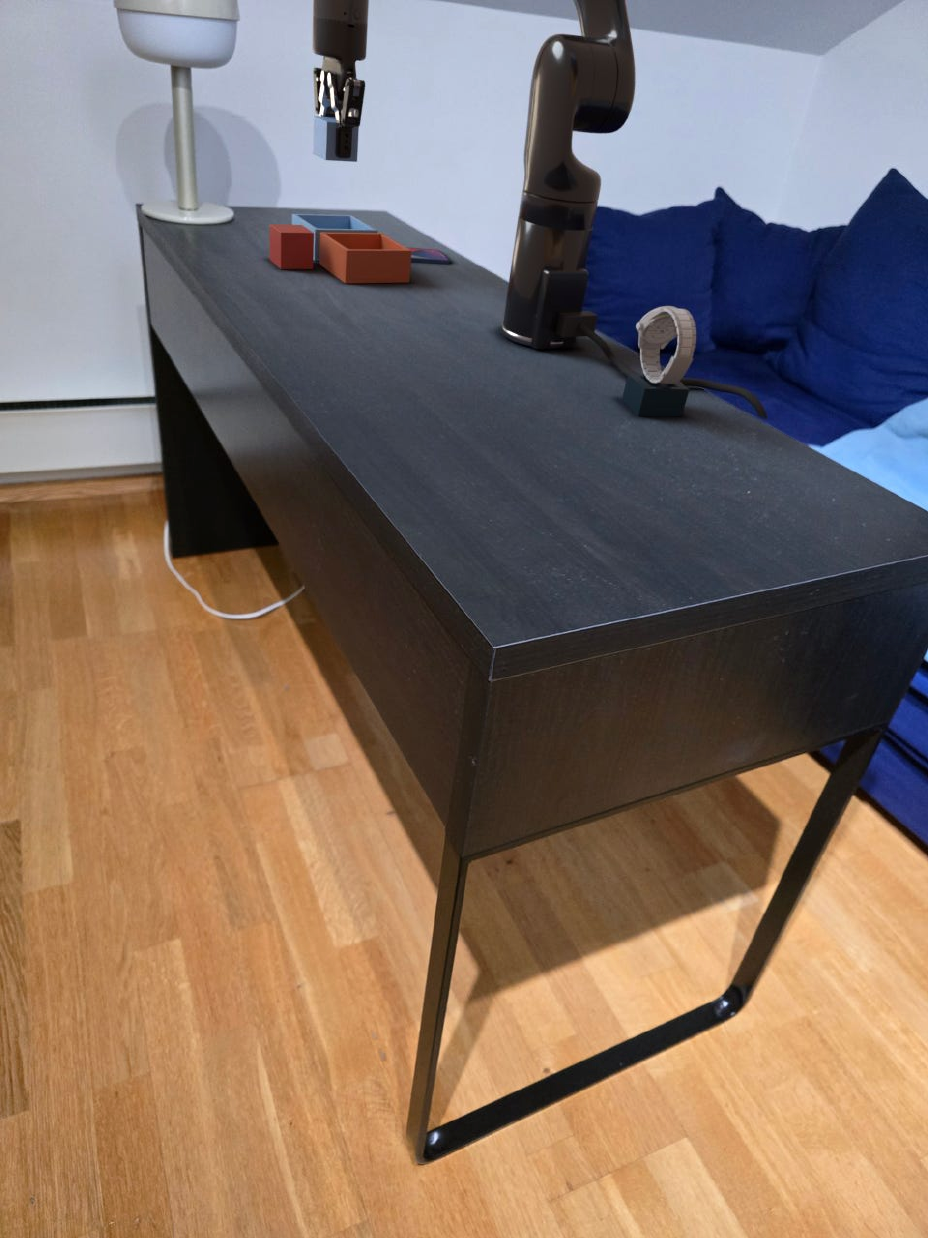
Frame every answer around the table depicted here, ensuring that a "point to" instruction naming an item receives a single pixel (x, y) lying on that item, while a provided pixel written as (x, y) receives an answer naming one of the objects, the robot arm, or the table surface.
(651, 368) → the watch
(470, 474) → the table surface
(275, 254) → the red block
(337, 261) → the orange bin
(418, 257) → the smartphone
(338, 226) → the blue bin
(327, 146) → the blue block
